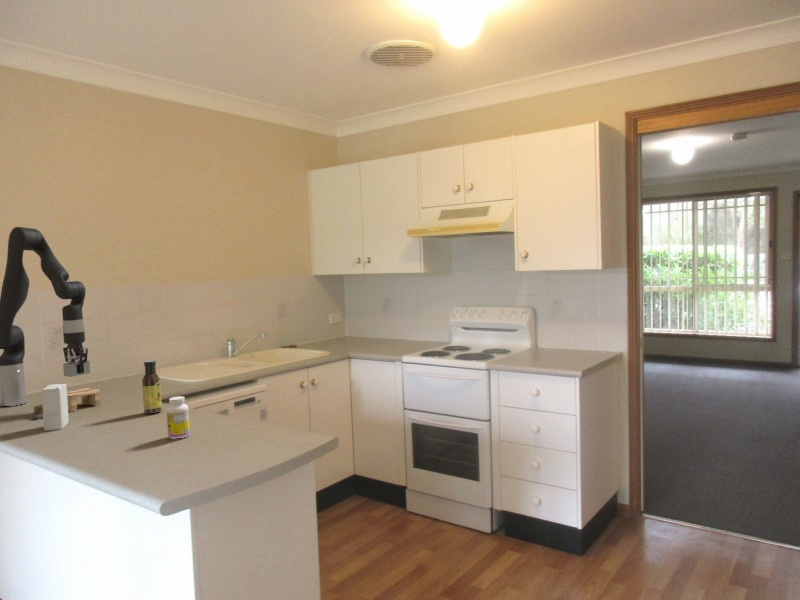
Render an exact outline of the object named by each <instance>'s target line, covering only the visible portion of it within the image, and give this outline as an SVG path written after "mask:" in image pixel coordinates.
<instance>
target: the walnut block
mask: <svg viewBox="0 0 800 600" xmlns="http://www.w3.org/2000/svg"><path fill="white" fill-rule="evenodd" d="M33 412H34V415H37V414H43V403H42V404H38V405H35V406H34V407H33Z"/></svg>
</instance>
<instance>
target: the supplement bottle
mask: <svg viewBox="0 0 800 600" xmlns="http://www.w3.org/2000/svg"><path fill="white" fill-rule="evenodd" d="M168 402H169V406H167V408H166V421H167V435H168V438H169V437H170V438H180V437H185V436H187V435H189V434H190V435H191V429H190V412H189V410H190V409H189V406H188V405H187V404H185V396H173V397H170V398H168ZM190 435H189V436H190ZM170 438H169V439H170Z"/></svg>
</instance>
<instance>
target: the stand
mask: <svg viewBox="0 0 800 600" xmlns="http://www.w3.org/2000/svg"><path fill="white" fill-rule="evenodd" d="M100 395H101V389H96V388H91V387H84V388H79V389H74V390H67V400H68V412H69V411H71V413H73V412H72V411H74V412H77V411H78V403H77V401H78V400H77V398H78V397H80V399H81V405H84V404H87V405H86V406H90V405H94V406H93V407H98V406H97V405H100V406H101V396H100Z"/></svg>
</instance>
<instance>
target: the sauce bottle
mask: <svg viewBox="0 0 800 600" xmlns="http://www.w3.org/2000/svg"><path fill="white" fill-rule="evenodd" d="M143 363H144V364H143V365H144V373H145V374H144V376H143V377H142V381H141V382H142V399H143V409H144V414H145V413H146V415H152V414H151V413H155V414H158V413H157V412H159V413H161V412H162V407H163V406H162V392H161V391H162V389H161V379H160V377H159V375H158V374H157V368H156V363H157V362H156V360H145V361H144V362H143ZM160 411H161V412H160Z"/></svg>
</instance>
